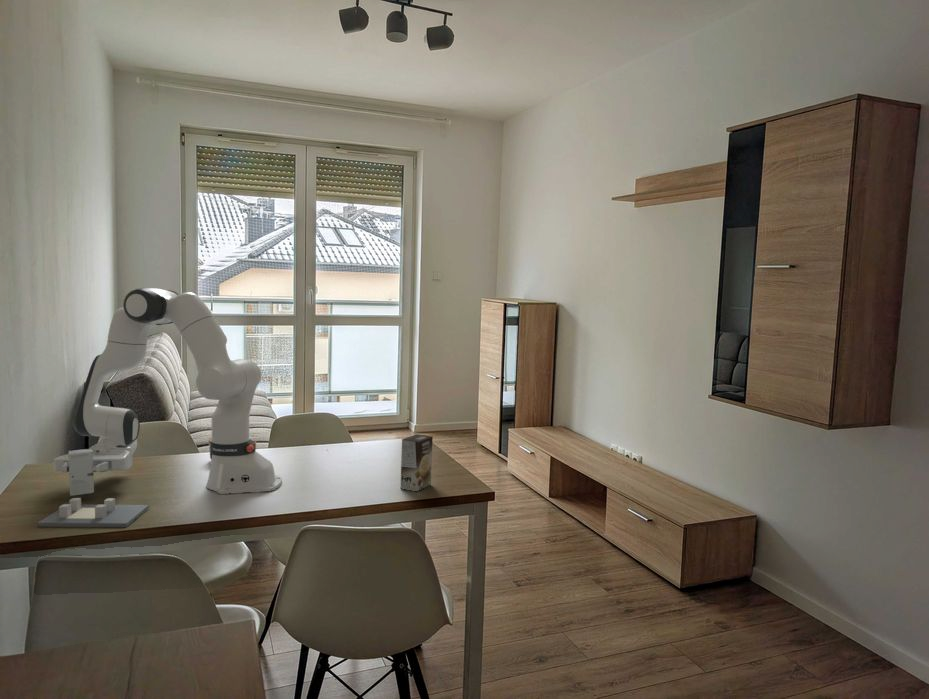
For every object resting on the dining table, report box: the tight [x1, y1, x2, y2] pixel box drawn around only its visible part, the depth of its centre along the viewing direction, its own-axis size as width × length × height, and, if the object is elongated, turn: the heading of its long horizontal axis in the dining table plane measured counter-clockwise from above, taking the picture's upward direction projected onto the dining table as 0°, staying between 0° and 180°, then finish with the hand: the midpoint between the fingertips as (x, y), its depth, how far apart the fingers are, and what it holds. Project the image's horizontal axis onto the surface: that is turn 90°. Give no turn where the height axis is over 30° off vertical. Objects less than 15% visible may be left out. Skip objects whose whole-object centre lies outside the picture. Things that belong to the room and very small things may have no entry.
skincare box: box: [67, 448, 95, 496], centre depth 187 cm, size 6×4×12 cm
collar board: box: [37, 497, 150, 528], centre depth 175 cm, size 22×14×4 cm, turn 94°
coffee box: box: [400, 434, 433, 492], centre depth 208 cm, size 9×6×16 cm
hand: (79, 469), depth 186 cm, fingers closed on skincare box, 7 cm apart
